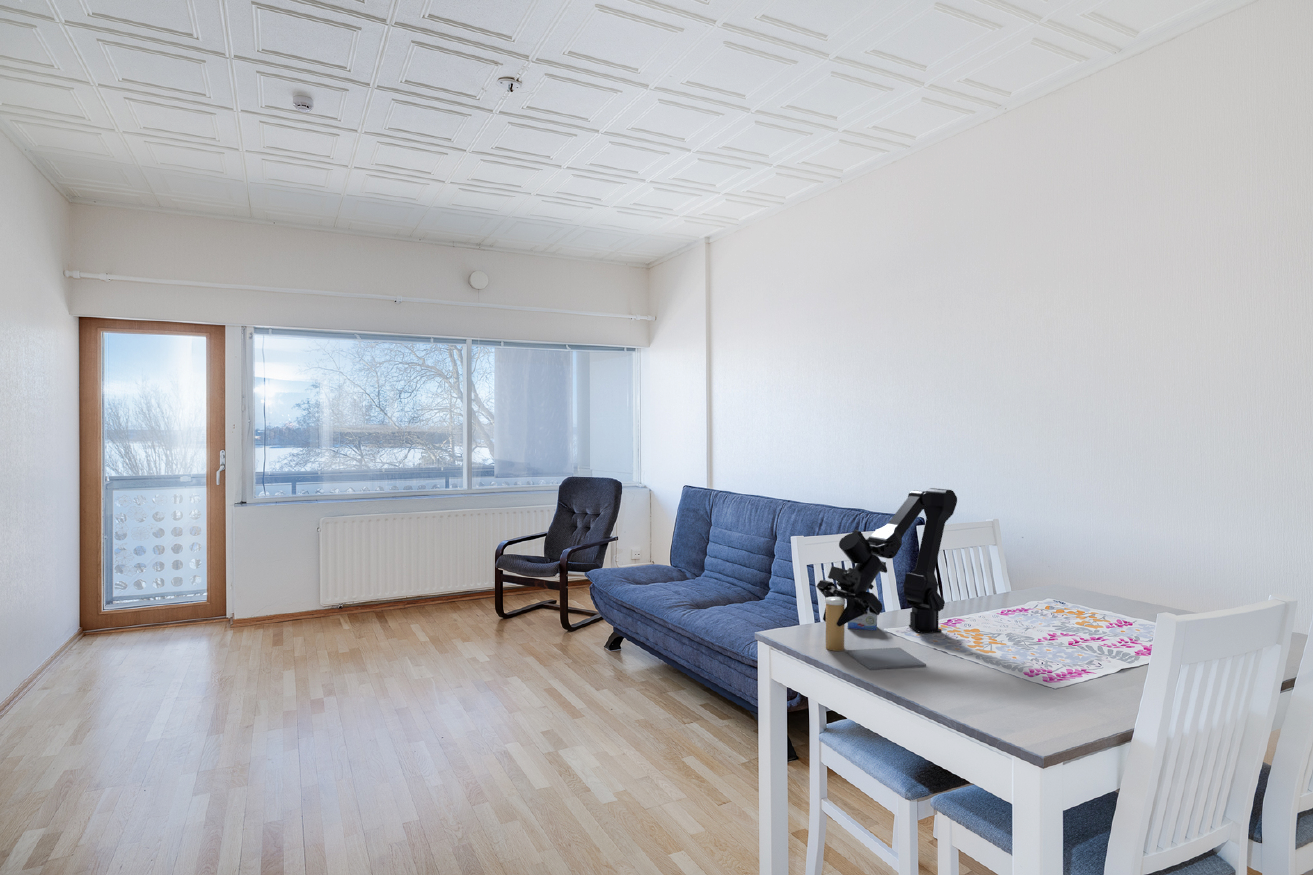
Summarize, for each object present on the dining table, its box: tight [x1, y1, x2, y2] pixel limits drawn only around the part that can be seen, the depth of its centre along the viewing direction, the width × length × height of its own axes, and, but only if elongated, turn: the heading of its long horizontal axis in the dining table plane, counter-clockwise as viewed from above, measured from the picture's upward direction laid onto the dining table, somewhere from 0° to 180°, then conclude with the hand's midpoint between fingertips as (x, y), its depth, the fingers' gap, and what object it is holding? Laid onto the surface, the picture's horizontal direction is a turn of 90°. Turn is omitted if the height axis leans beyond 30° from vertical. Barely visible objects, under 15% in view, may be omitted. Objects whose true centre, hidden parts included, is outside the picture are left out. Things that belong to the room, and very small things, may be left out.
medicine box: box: [847, 608, 878, 631], centre depth 201 cm, size 8×4×9 cm, turn 73°
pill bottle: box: [824, 597, 846, 652], centre depth 183 cm, size 5×5×12 cm
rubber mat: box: [845, 646, 927, 671], centre depth 174 cm, size 14×13×1 cm
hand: (830, 623), depth 182 cm, fingers closed on pill bottle, 5 cm apart
